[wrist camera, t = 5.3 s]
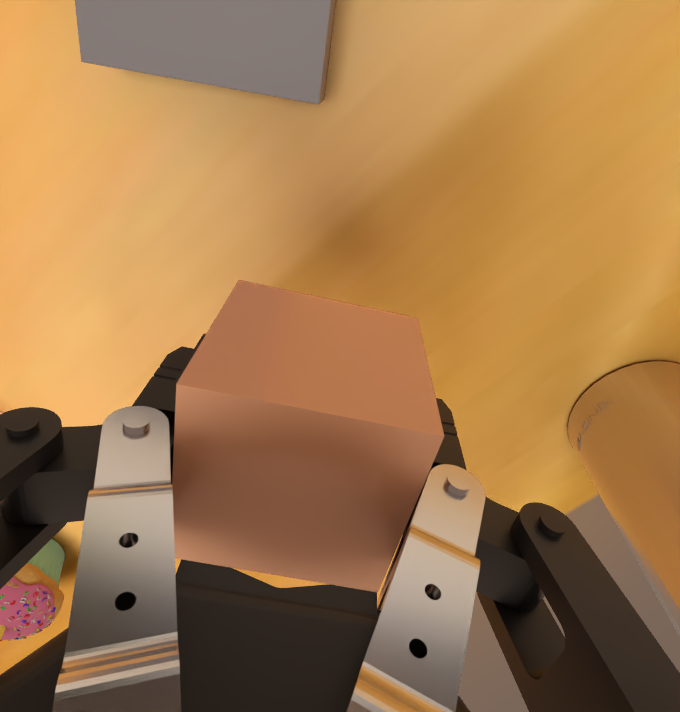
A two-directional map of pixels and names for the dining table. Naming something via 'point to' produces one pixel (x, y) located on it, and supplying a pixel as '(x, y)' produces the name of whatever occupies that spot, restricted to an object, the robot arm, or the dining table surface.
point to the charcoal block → (215, 42)
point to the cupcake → (32, 595)
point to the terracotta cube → (302, 438)
